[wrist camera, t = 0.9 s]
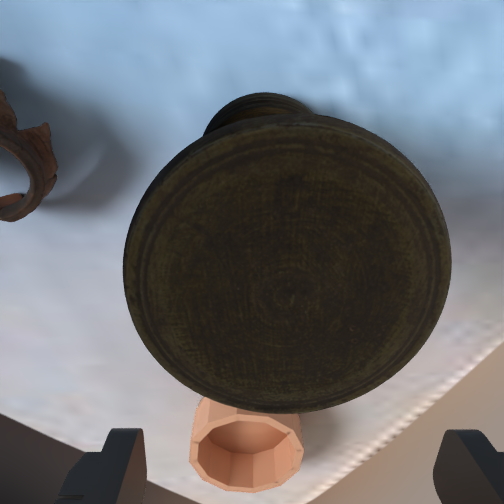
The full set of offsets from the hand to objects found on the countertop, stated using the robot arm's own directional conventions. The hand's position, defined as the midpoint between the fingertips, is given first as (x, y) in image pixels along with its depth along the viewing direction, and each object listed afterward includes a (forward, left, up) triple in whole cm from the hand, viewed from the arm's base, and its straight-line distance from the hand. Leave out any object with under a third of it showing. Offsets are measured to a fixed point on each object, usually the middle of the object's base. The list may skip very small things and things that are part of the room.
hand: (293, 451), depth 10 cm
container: (-1, -4, -19) cm, 20 cm away
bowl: (+10, +18, -19) cm, 28 cm away
